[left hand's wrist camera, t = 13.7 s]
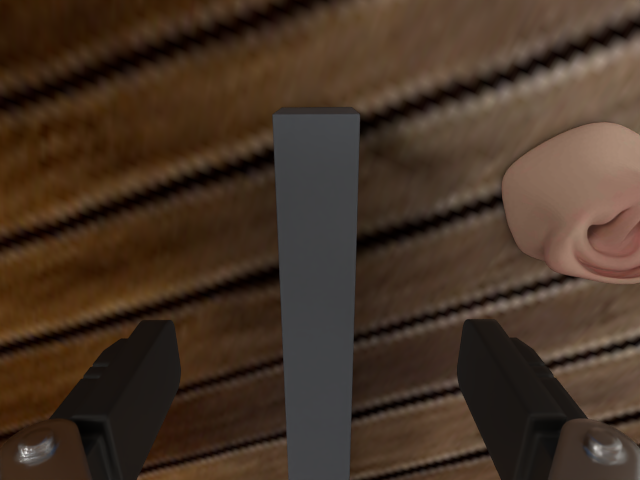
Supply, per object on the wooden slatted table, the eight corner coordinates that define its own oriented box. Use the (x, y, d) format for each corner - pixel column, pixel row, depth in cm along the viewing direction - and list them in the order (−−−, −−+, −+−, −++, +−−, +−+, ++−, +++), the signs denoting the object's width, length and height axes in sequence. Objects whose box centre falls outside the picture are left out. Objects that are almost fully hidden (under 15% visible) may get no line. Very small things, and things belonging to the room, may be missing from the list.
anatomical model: (493, 216, 26) (653, 75, 23) (471, 199, 30) (608, 75, 27) (608, 336, 30) (762, 226, 27) (576, 307, 34) (708, 208, 30)
